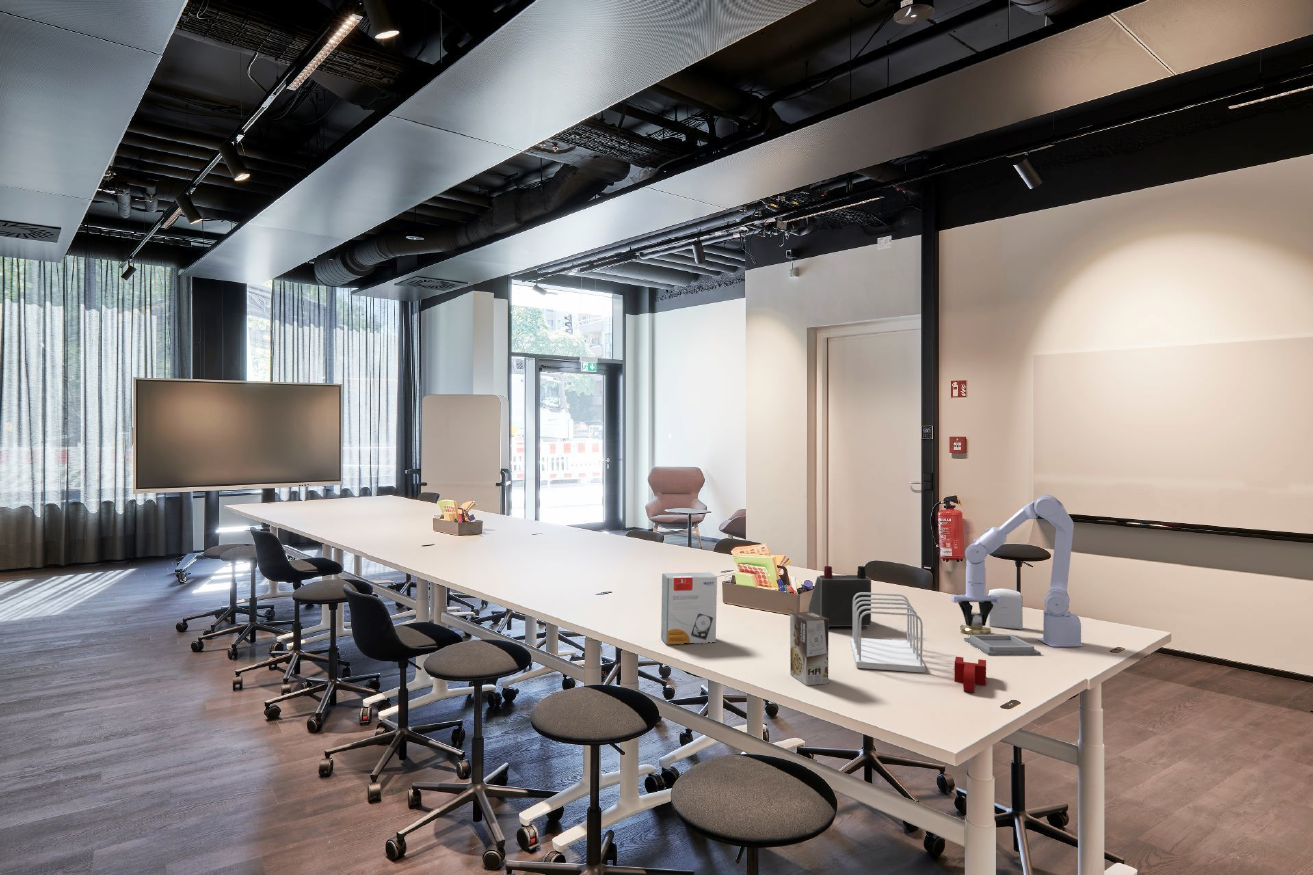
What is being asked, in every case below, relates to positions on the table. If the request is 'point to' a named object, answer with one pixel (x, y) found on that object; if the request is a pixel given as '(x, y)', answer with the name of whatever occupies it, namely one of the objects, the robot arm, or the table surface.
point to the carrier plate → (1001, 645)
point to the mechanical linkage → (970, 673)
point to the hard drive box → (688, 608)
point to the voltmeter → (841, 597)
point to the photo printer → (1006, 609)
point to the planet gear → (975, 626)
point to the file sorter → (886, 651)
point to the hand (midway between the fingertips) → (975, 625)
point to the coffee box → (809, 647)
